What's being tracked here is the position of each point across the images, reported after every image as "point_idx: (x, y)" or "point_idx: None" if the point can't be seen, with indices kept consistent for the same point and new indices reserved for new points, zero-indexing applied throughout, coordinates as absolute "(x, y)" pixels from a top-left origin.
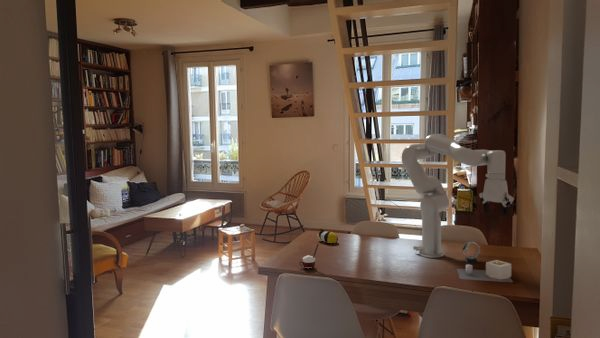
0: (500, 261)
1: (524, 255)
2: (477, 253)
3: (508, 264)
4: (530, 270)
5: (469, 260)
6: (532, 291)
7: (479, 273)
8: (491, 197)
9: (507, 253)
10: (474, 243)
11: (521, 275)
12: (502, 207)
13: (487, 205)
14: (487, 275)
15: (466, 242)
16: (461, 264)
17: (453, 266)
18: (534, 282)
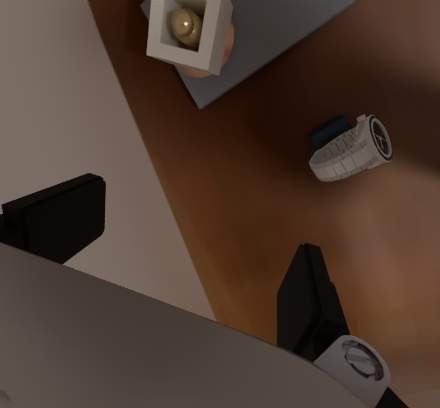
0: (187, 57)
1: (231, 304)
2: (316, 155)
3: (149, 37)
4: (173, 193)
5: (336, 120)
6: (91, 3)
7: (259, 9)
8: (30, 387)
9: (271, 303)
10: (338, 156)
11: (171, 134)
12: (31, 212)
13: (291, 331)
14: None
15: (383, 158)
16: None
17: (388, 67)
18: (124, 95)
